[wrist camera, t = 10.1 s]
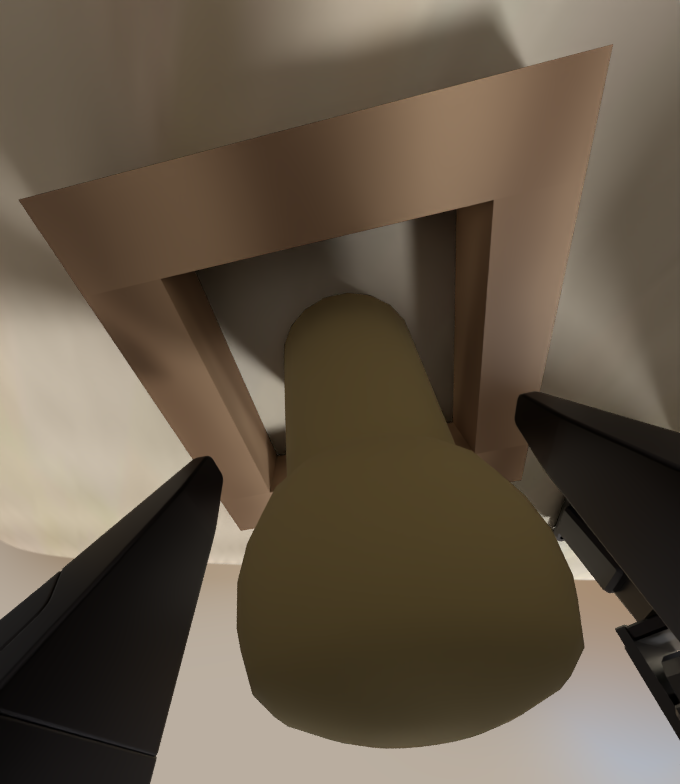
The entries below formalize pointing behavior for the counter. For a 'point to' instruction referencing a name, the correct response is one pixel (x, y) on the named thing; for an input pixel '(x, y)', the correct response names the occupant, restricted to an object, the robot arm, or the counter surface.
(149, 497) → the robot arm
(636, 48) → the counter surface
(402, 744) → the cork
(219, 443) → the socket block
